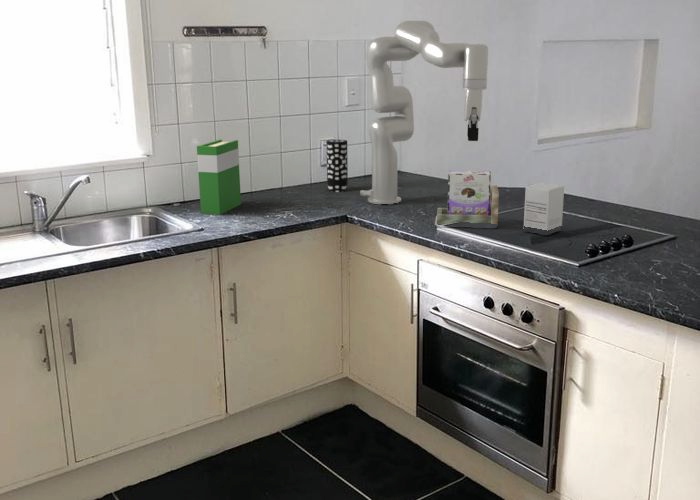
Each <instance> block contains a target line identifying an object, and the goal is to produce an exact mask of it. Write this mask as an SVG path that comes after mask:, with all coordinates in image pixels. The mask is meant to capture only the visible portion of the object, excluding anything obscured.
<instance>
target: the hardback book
mask: <svg viewBox="0 0 700 500" xmlns="http://www.w3.org/2000/svg"><path fill="white" fill-rule="evenodd" d="M222 140H223V139H217V140H214V141H213V140H212V141H210V142H207V143H204V144H200V145H197V146H196V153H197V154H196V155H197V156H196V157H197V171H198V172H197V173H198V188H199V203H200V214H203V215H206V214H207V215H217V216H218V215H219V216H220V215H223V214H225V213H226V212H229V211H231V210H232V209H234V208H236V207H238V206H240V205H242V200H241V199H242V197H241V176H240V157H239V156H240V155H239V140H238V139H235V140H231V141H222Z"/></svg>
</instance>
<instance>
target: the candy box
mask: <svg viewBox="0 0 700 500" xmlns="http://www.w3.org/2000/svg"><path fill="white" fill-rule="evenodd" d="M491 175H492V171H491V170H490V171H489V170H488V171H486V170H485V171H484V170H483V171H481V170H449V172H448V175H447V182H448V183H447V208H448V214H451V215H489V214H490V194H491V185H492V182H491V181H492V178H491V177H492V176H491Z"/></svg>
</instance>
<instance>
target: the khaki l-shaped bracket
mask: <svg viewBox="0 0 700 500" xmlns="http://www.w3.org/2000/svg"><path fill="white" fill-rule="evenodd" d="M499 197H500V192H499V188H498V185H492V184H491V193H490V214H489V215H451V214H448V207H437V212H436V215H435V222H434V224H435V225H438V224H447V223H455V222H470V223H491V224H497V225H498V221H499V219H498V217H499V216H498V215H499V199H500V198H499ZM435 225H434V226H435Z"/></svg>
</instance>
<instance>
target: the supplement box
mask: <svg viewBox="0 0 700 500" xmlns="http://www.w3.org/2000/svg"><path fill="white" fill-rule="evenodd" d="M564 196H565V186H564V185H563V184H561V185H560V184H554V183H546V182H538V183H534V184H531V185H526V186H525V194H524V212H523V213H524V214H523V215H524V216H523V227H524V226H525V227H531V228H537V229H542V230H547V231H548V230H551V229H554V228H556V227H559V226H562V227H563V216H564V215H563V212H564Z"/></svg>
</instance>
